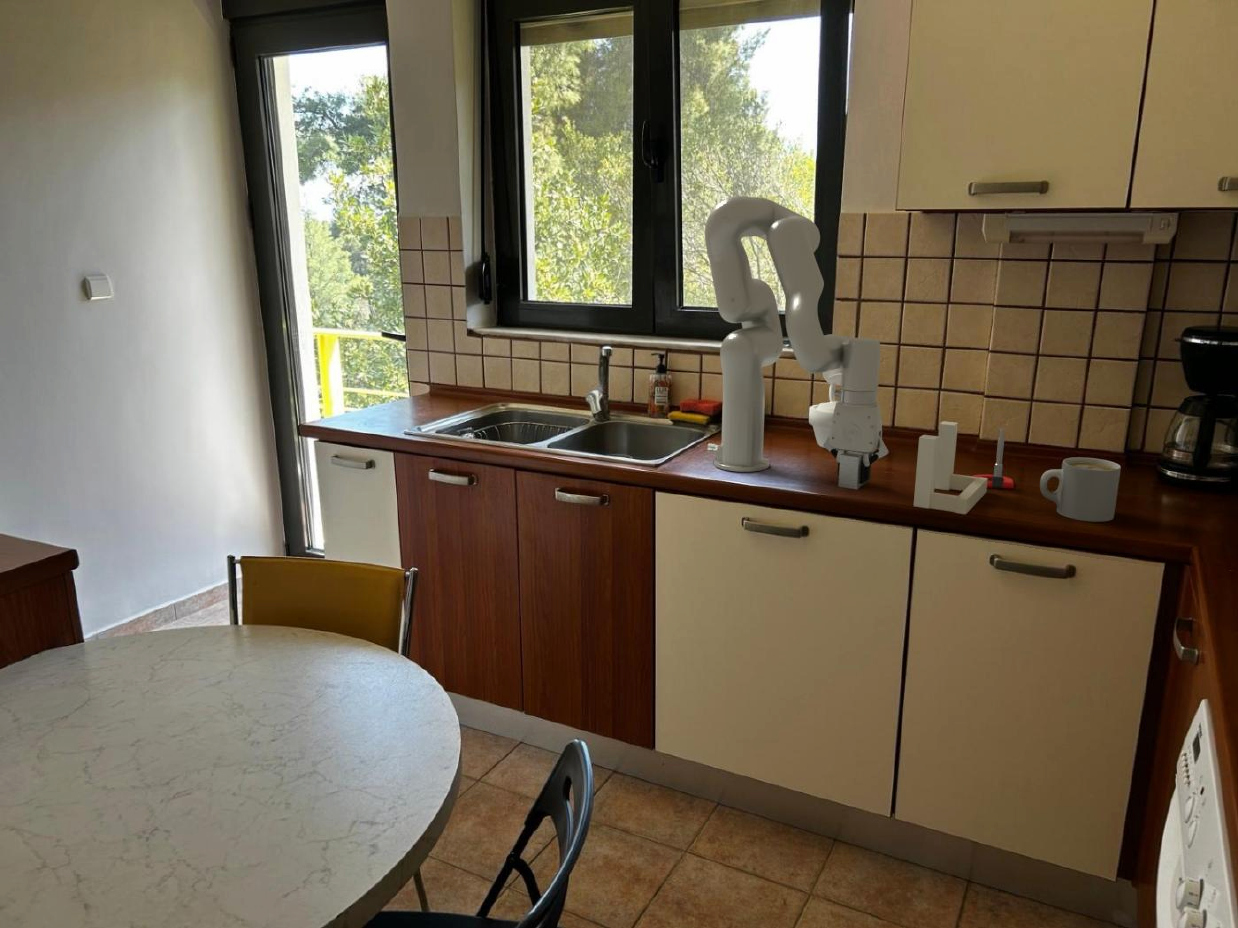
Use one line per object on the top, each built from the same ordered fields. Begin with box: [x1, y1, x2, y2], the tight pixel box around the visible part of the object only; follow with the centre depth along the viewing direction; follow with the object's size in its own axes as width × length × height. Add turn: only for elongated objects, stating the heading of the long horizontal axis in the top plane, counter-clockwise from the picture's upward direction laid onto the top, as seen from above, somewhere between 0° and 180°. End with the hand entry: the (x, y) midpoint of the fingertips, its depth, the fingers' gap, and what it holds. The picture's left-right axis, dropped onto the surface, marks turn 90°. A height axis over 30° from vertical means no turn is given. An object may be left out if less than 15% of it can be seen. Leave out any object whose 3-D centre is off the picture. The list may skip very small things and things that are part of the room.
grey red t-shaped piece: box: [971, 428, 1015, 490], centre depth 197 cm, size 8×13×9 cm
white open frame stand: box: [913, 420, 989, 515], centre depth 185 cm, size 10×18×14 cm, turn 147°
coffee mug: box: [1039, 456, 1122, 523], centre depth 177 cm, size 13×10×10 cm
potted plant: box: [808, 368, 842, 449], centre depth 227 cm, size 13×12×25 cm
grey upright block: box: [838, 451, 869, 490], centre depth 197 cm, size 4×7×7 cm, turn 147°
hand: (853, 480), depth 198 cm, fingers closed on grey upright block, 4 cm apart
